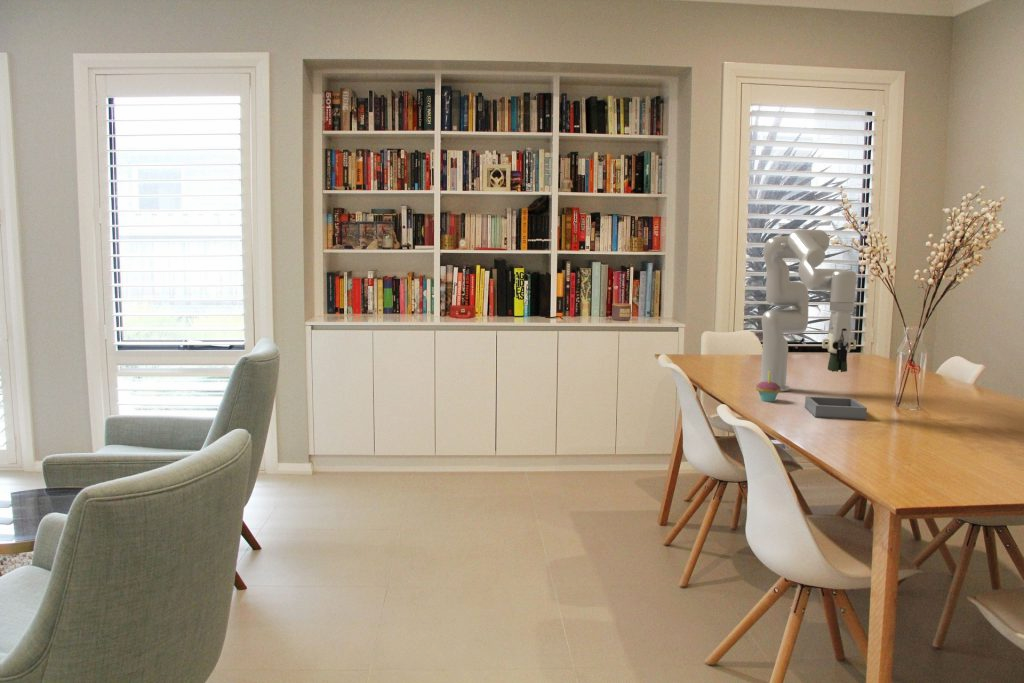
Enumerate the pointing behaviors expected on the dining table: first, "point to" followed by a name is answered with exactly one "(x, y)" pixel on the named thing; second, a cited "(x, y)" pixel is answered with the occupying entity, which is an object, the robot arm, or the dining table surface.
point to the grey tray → (835, 408)
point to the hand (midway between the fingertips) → (838, 359)
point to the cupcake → (768, 390)
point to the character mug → (832, 348)
